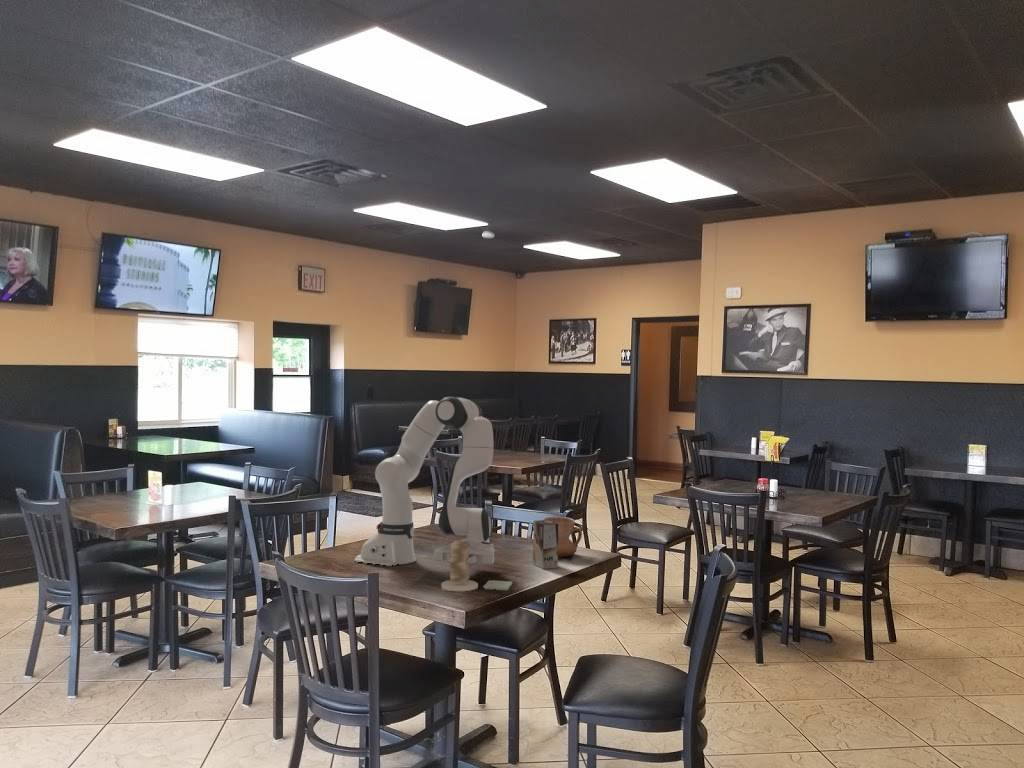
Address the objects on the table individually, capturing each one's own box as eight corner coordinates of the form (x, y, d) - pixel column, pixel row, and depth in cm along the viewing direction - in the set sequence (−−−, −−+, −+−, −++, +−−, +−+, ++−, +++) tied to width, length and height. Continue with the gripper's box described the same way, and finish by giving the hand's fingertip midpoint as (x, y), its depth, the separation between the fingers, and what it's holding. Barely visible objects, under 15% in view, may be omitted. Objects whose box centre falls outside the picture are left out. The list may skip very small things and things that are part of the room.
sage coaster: (483, 588, 247) (483, 586, 247) (488, 582, 255) (488, 580, 255) (507, 590, 245) (507, 587, 245) (512, 584, 253) (512, 581, 253)
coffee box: (558, 567, 276) (559, 523, 276) (542, 569, 274) (543, 524, 274) (547, 562, 285) (548, 519, 285) (531, 563, 282) (532, 520, 282)
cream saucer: (436, 590, 244) (436, 587, 244) (446, 581, 255) (446, 578, 255) (473, 593, 241) (473, 590, 241) (481, 583, 253) (481, 580, 253)
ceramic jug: (539, 560, 288) (541, 522, 288) (532, 551, 302) (534, 515, 302) (586, 560, 291) (587, 523, 291) (577, 551, 305) (578, 516, 305)
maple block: (450, 581, 246) (450, 544, 246) (454, 577, 251) (454, 541, 251) (465, 582, 245) (465, 544, 245) (468, 578, 250) (469, 541, 250)
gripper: (440, 540, 262) (428, 549, 249) (498, 543, 259) (489, 552, 245) (439, 558, 262) (427, 568, 249) (497, 562, 259) (489, 572, 245)
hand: (458, 560), depth 247 cm, fingers closed on maple block, 5 cm apart
